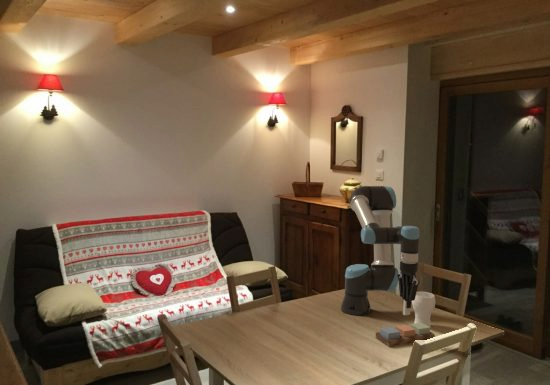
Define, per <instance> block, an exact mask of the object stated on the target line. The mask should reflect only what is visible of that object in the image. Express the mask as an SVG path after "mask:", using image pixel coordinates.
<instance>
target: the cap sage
mask: <svg viewBox="0 0 550 385" xmlns="http://www.w3.org/2000/svg"><path fill="white" fill-rule="evenodd" d="M410 327H412V328H413V329H415V333H416V334H418V335H423V334H429V333H430V332H431V327H429V326H427V325H425V324H423V323H416V324H414V323H410Z"/></svg>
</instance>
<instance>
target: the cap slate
mask: <svg viewBox="0 0 550 385" xmlns="http://www.w3.org/2000/svg"><path fill="white" fill-rule="evenodd" d="M379 332H380V335H381V336H383V337H384V338H386V339H387V340H390V339H396V338H400V331H398V330H396V327H395V328H394V327H393V326H389V327H381V328H380V329H379Z"/></svg>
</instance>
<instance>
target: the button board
mask: <svg viewBox="0 0 550 385" xmlns="http://www.w3.org/2000/svg"><path fill="white" fill-rule="evenodd" d="M435 335H436V334H435V333H433V332H431V331H430V333H429V334H423V335H418V334H416V333H415V336H409V337H402V336H400V338H396V339H390V340H387V339H386V338H384V337H383V336H381V335H380V331H377V332H375V339H376V340H378V341H379V342H381V343H382V344H383V345H385V346H386V347H388V348H391V347H397V346H403V345H410V344H414V343H413V342H414V341H415V340H427V339H430V338H433V337H436V336H435Z"/></svg>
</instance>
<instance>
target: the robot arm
mask: <svg viewBox="0 0 550 385" xmlns="http://www.w3.org/2000/svg"><path fill="white" fill-rule="evenodd" d="M396 196H397V195H396V192H395V190H394V189H393V188H392V187H391V186H386V185H385V186H384V185H382V186H381V185H363V186H359V187H357V188H355V189H354V190H353V191H352V192H351V194H350V195H349V200H348V203H349V206H350V208H351V210H352V211H353V212H355V214H356V218H357V219H358V221H359V223H360V226H361V231H360V238H361V242H362V243H363V244H364V245H365V244H369V245H373V262H372V263H371V264H370V265H371V267H369V265H368V264H362V263H358V264H357V263H356V264H351V265H349V266H347V267H346V269H345V274H344V296H343V299H342V301H341V303H340V311H342V312H343V313H344V314H345V313H346V314H348V315H351V316H352V315H353V316H364V315H368V314H370V313H371V303H370V300H369V297H368V296H369V295H368V294H369V292H371V291H372V292H374V291H375V292H377V291H378V292H388V291H394V290H396V289H397V287H398V291H399V297H401V298H402V306H403V308H402V315H403V316H409V315H411V308H412V301H413V300H415V297H416V292H418V287H419V284H420V280H418V279H417V275H416V273H417V272H418V269H419V268H418V267H419V265H418V264H419V263H418V262H419V247H420V246H419V245H420V229H419V227H418V226H414V225H403V226H401V225H398V226H395V227H394V226H393V227H391V217H390V216H391V214H392V213H393V210H394V209H395V208H396V207H397V197H396ZM391 245H400V255H399V256H400V258H399V259H400V262H399V269H398V268H397V267H395V264H394V262H392V252H391V250H392V248H391V247H392V246H391ZM399 270H400V273H399Z"/></svg>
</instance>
